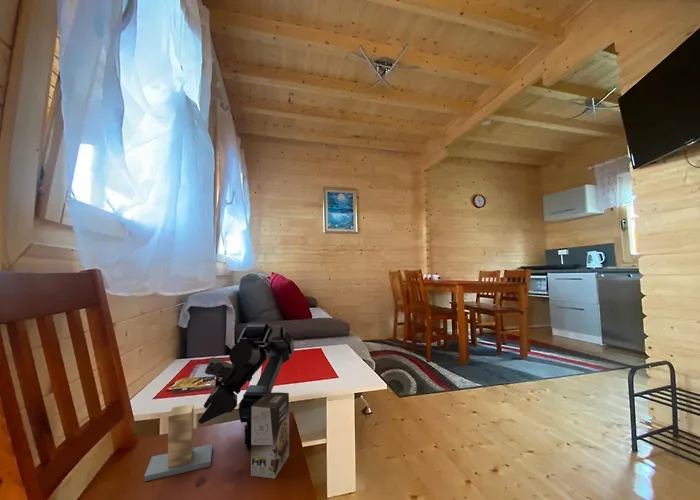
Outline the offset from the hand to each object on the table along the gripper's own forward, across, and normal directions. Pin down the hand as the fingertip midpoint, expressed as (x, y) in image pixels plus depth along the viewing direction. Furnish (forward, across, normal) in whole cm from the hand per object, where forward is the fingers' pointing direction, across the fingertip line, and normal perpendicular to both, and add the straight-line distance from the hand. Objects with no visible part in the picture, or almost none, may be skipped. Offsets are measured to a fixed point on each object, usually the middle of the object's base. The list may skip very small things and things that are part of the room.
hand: (202, 414), depth 81 cm
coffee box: (-4, +9, +20) cm, 22 cm away
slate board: (+11, +1, +4) cm, 12 cm away
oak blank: (+10, +1, +4) cm, 11 cm away
